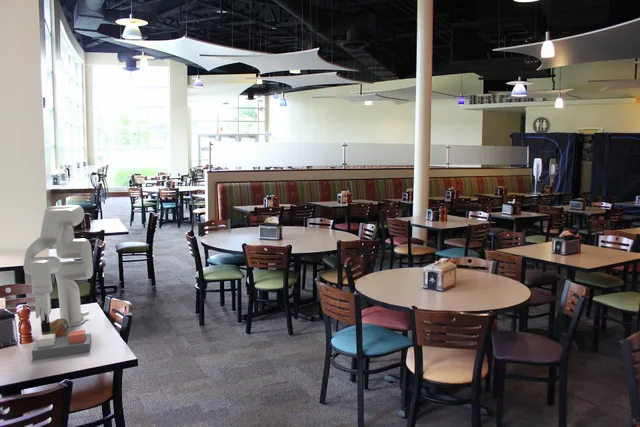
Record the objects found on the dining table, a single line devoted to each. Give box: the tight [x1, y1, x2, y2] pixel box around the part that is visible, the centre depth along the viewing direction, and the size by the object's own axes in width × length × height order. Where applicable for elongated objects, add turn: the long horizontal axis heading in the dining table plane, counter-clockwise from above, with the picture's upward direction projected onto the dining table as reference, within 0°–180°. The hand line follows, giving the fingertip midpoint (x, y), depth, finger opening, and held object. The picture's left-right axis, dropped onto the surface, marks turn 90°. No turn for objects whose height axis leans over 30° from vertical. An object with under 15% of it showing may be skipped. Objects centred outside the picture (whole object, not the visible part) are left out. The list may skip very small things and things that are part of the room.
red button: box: [68, 329, 86, 343], centre depth 237 cm, size 6×6×4 cm
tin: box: [41, 318, 69, 338], centre depth 252 cm, size 15×3×8 cm, turn 168°
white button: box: [37, 334, 56, 347], centre depth 233 cm, size 6×6×4 cm
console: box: [31, 333, 93, 361], centre depth 236 cm, size 22×14×4 cm, turn 110°
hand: (46, 331), depth 233 cm, fingers closed
